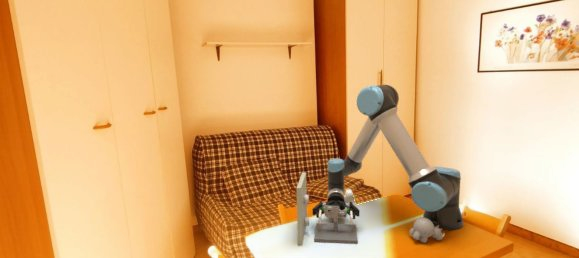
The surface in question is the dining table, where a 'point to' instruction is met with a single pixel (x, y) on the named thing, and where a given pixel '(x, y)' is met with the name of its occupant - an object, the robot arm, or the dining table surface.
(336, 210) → the mechanical component
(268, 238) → the dining table surface
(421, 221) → the chubby cartoon animal
